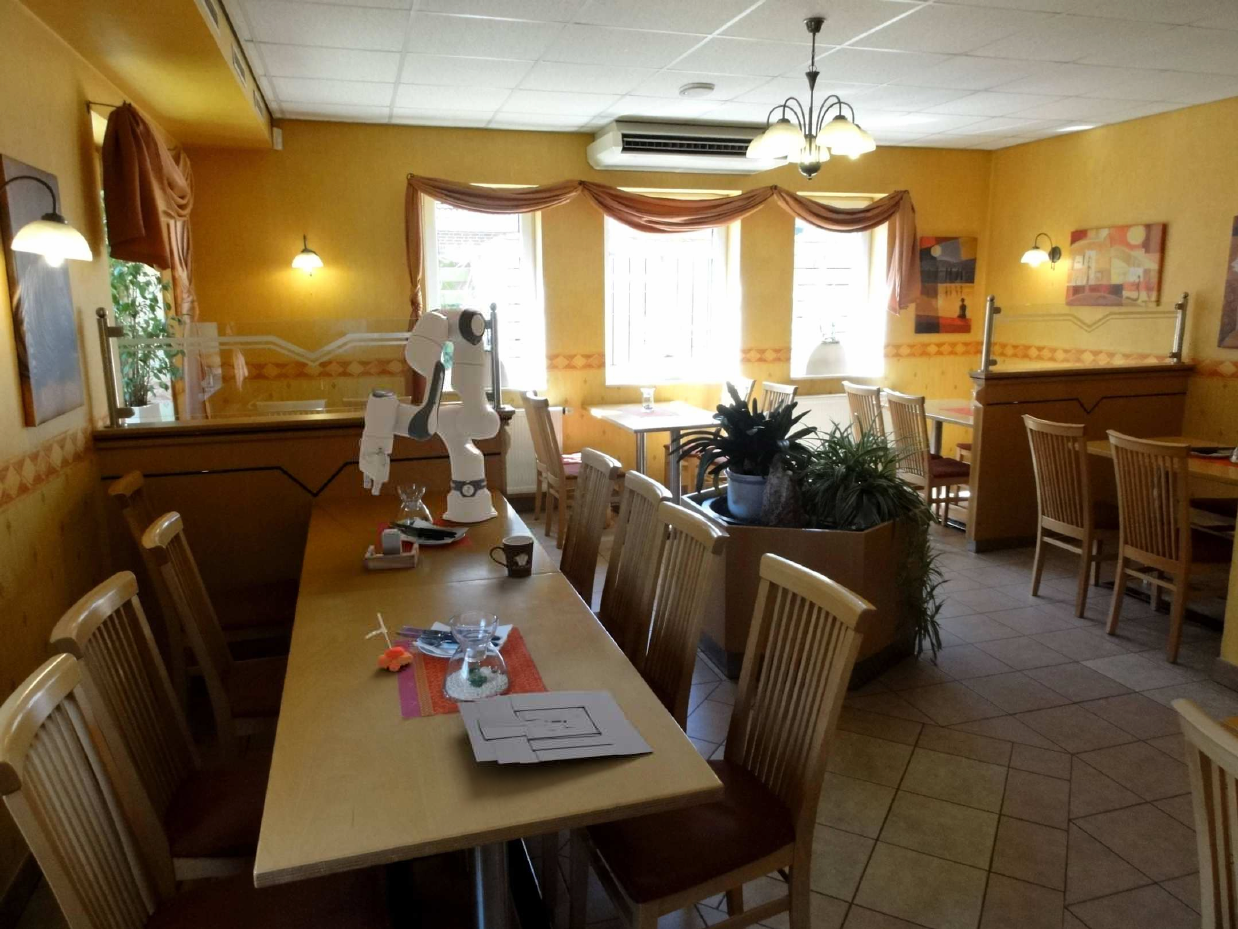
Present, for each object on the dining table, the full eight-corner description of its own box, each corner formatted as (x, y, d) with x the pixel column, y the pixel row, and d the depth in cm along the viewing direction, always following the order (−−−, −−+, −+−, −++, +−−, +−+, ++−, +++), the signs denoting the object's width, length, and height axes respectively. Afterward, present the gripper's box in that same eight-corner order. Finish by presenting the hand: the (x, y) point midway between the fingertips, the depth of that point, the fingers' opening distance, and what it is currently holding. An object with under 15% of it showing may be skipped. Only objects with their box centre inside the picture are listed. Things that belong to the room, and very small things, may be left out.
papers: (454, 712, 155) (455, 693, 155) (607, 702, 166) (608, 685, 165) (477, 783, 133) (479, 762, 132) (652, 767, 143) (654, 747, 143)
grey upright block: (385, 557, 247) (382, 529, 245) (402, 556, 247) (400, 528, 246) (383, 561, 243) (381, 532, 242) (401, 560, 244) (399, 531, 242)
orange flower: (365, 666, 178) (360, 613, 175) (410, 657, 182) (406, 605, 179) (370, 678, 172) (365, 623, 170) (416, 668, 176) (412, 614, 174)
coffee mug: (538, 569, 236) (536, 535, 234) (532, 580, 228) (530, 545, 226) (497, 568, 238) (496, 535, 235) (490, 579, 229) (488, 544, 227)
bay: (371, 556, 250) (370, 545, 249) (419, 554, 252) (418, 542, 251) (364, 569, 238) (364, 558, 238) (415, 566, 240) (414, 555, 239)
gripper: (397, 452, 241) (391, 499, 243) (378, 441, 258) (373, 485, 260) (375, 450, 238) (369, 497, 239) (358, 439, 255) (352, 483, 256)
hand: (371, 491), depth 250 cm, fingers open, 8 cm apart
